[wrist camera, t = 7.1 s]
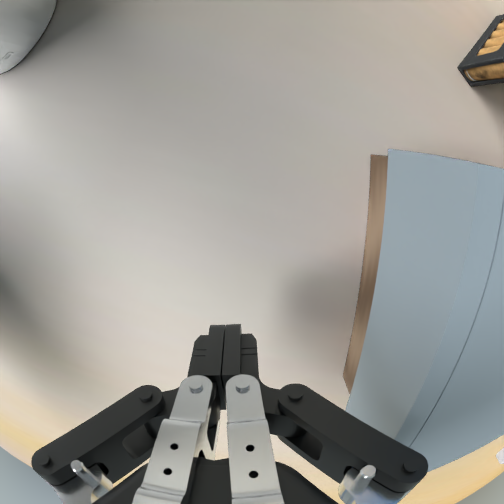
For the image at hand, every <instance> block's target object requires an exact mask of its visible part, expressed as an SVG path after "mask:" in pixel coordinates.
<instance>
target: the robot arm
mask: <svg viewBox="0 0 504 504" xmlns="http://www.w3.org/2000/svg"><path fill="white" fill-rule="evenodd" d="M56 1H57V0H0V74H1V73H4V72H6V71H8V70H10V69H11V68H13V67H14V66H16V65H17V64H18V63H19V62H20V61H21V60H22V59H23V58H24V57H25V56H26V55H27V54H28V53H29V52H30V50H31V49H32V48H33V47H34V45H35V44H36V43H37V41H38V40H39V39H40V37H41V35H42V34H43V32H44V30H45V29H46V27H47V25H48V23H49V21H50V19H51V17H52V14H53V12H54V9H55V6H56ZM226 403H227V419H228V423H227V437H228V452H229V458H226V459H221V460H215V453H216V446H217V440H218V434H219V427H220V410H226ZM270 434H273V435H277V436H278V438H279V439H280V440H281V441H282V442H284V443H285V444H286V445H287V446H289V447H290V448H291V449H292V450H294V451H295V452H296V453H298V454H299V455H300V456H302V457H303V458H304V459H306V460H307V461H308V462H310V463H311V464H312V465H314V466H315V467H316V468H318V469H319V470H321V471H322V472H323V473H325V474H326V475H328V476H329V477H331V478H332V479H334V480H335V481H336V482H338V483H339V484H340V486H339V489H338V494H339V497H340V499H341V500H342V501H343V502H344V503H345V504H397V503H398V502H399V501H400V500H401V499H402V498H404V497H405V496H406V495H407V494H408V493H409V492H410V491H411V490H412V489H413V488H414V487H415V486H416V485H417V484H418V483H419V482H420V481H421V480H422V479H423V478H424V476H425V475H426V474H427V471H428V462H427V459H426V458H425V457H424V456H423V455H422V454H420V453H419V452H417V451H415V450H413V449H411V448H409V447H407V446H405V445H403V444H402V443H400V442H398V441H396V440H394V439H392V438H391V437H389V436H387V435H385V434H383V433H382V432H380V431H378V430H376V429H375V428H373V427H371V426H369V425H368V424H366V423H364V422H363V421H361V420H359V419H358V418H356V417H354V416H353V415H351V414H349V413H348V412H346V411H344V410H343V409H341V408H339V407H338V406H336V405H335V404H333V403H331V402H330V401H328V400H327V399H325V398H324V397H322V396H320V395H319V394H317V393H316V392H314V391H313V390H311V389H310V388H308V387H307V386H305V385H302V384H289V385H286V386H284V387H283V388H282V389H281V390H279V389H273V388H270V387H267V386H265V385H264V384H263V383H262V382H261V381H260V379H259V372H258V356H257V341H256V339H255V337H254V336H253V335H252V334H242V333H241V324H231V325H226V327H225V325H210V329H209V335H200V336H199V337H198V339H197V340H196V341H195V343H194V347H193V352H192V357H191V362H190V367H189V372H188V377H187V378H186V379H184V380H183V381H182V382H181V384H180V387H179V388H177V389H174V390H170V391H165V392H161V390H160V389H159V388H157V387H155V386H152V385H144V386H141V387H139V388H137V389H135V390H134V391H132V392H131V393H129V394H128V395H126V396H125V397H123V398H122V399H120V400H119V401H117V402H115V403H114V404H112V405H111V406H109V407H108V408H106V409H105V410H103V411H101V412H100V413H98V414H97V415H95V416H94V417H92V418H90V419H89V420H87V421H86V422H84V423H82V424H81V425H79V426H77V427H76V428H74V429H73V430H71V431H69V432H68V433H66V434H64V435H63V436H61V437H59V438H58V439H56V440H54V441H53V442H51V443H49V444H47V445H46V446H44V447H42V448H41V449H39V450H37V451H36V452H35V453H34V455H33V457H32V467H33V469H34V470H35V471H36V472H37V473H38V474H39V475H40V476H41V477H42V478H43V479H44V480H45V481H46V482H47V483H48V484H49V485H50V486H52V487H53V489H54V490H55V492H56V493H57V495H58V496H59V498H60V499H61V501H62V502H63V504H338V503H337V502H336V501H334V500H333V499H331V498H330V497H329V496H327V495H326V494H325V493H324V492H322V491H321V490H320V489H318V488H317V487H316V486H315V485H313V484H312V483H311V482H309V481H308V480H307V479H306V478H305V477H303V476H302V475H301V474H300V473H298V472H297V471H296V470H294V469H293V468H291V467H289V466H287V465H285V464H282V463H280V462H276V461H275V459H274V454H273V449H272V443H271V438H270ZM148 458H150V460H149V463H147V464H145V465H144V466H142V467H140V468H139V469H138V470H136V471H135V472H134V473H133V474H131V475H130V476H129V477H127V478H126V479H125V480H123V481H122V482H121V483H119V484H118V485H117V486H115V487H114V488H113V483H115V482H116V481H118V480H119V479H121V478H122V477H124V476H125V475H126V474H128V473H129V472H131V471H132V470H133V469H135V468H136V467H138V466H139V465H140V464H142V463H143V462H144V461H146V460H147V459H148Z"/></svg>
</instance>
